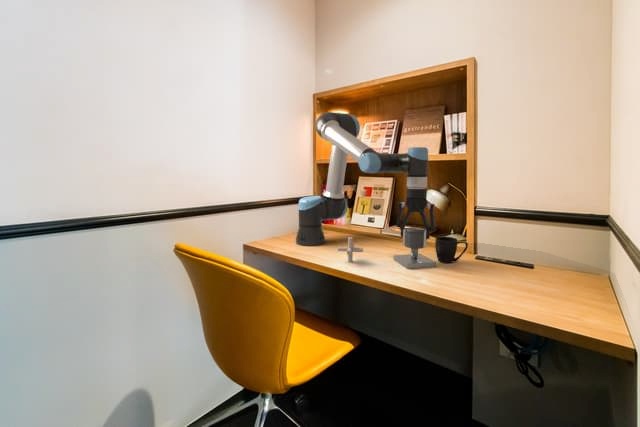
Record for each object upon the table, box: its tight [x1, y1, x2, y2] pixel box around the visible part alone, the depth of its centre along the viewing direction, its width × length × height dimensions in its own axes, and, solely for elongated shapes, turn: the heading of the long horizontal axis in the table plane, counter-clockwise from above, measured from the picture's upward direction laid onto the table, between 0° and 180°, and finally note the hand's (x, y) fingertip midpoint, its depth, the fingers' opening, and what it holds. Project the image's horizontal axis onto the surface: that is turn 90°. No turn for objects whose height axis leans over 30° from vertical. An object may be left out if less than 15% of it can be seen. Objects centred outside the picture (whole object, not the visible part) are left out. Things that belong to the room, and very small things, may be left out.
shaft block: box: [392, 248, 437, 270], centre depth 126 cm, size 12×12×8 cm
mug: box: [434, 236, 469, 265], centre depth 127 cm, size 8×12×10 cm
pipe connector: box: [337, 236, 364, 263], centre depth 129 cm, size 10×10×10 cm
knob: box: [404, 226, 426, 250], centre depth 125 cm, size 7×7×7 cm
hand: (414, 245), depth 126 cm, fingers closed on knob, 7 cm apart
